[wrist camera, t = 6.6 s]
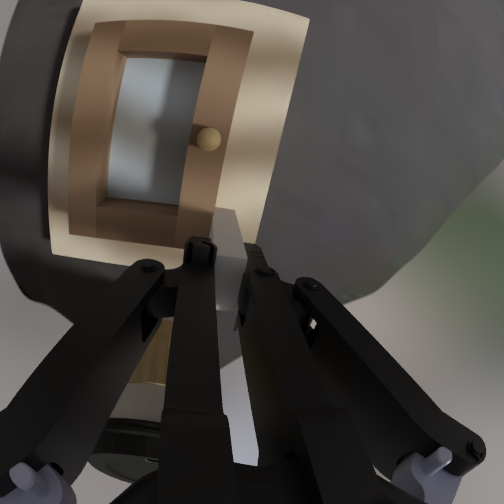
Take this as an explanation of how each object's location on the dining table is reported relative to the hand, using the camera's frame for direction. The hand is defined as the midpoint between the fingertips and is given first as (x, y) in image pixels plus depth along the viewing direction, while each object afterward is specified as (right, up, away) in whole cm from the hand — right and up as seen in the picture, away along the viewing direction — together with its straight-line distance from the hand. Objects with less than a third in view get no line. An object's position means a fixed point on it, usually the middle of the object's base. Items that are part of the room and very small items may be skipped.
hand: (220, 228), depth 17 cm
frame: (-4, +6, -2) cm, 8 cm away
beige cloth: (-4, +7, 0) cm, 8 cm away
